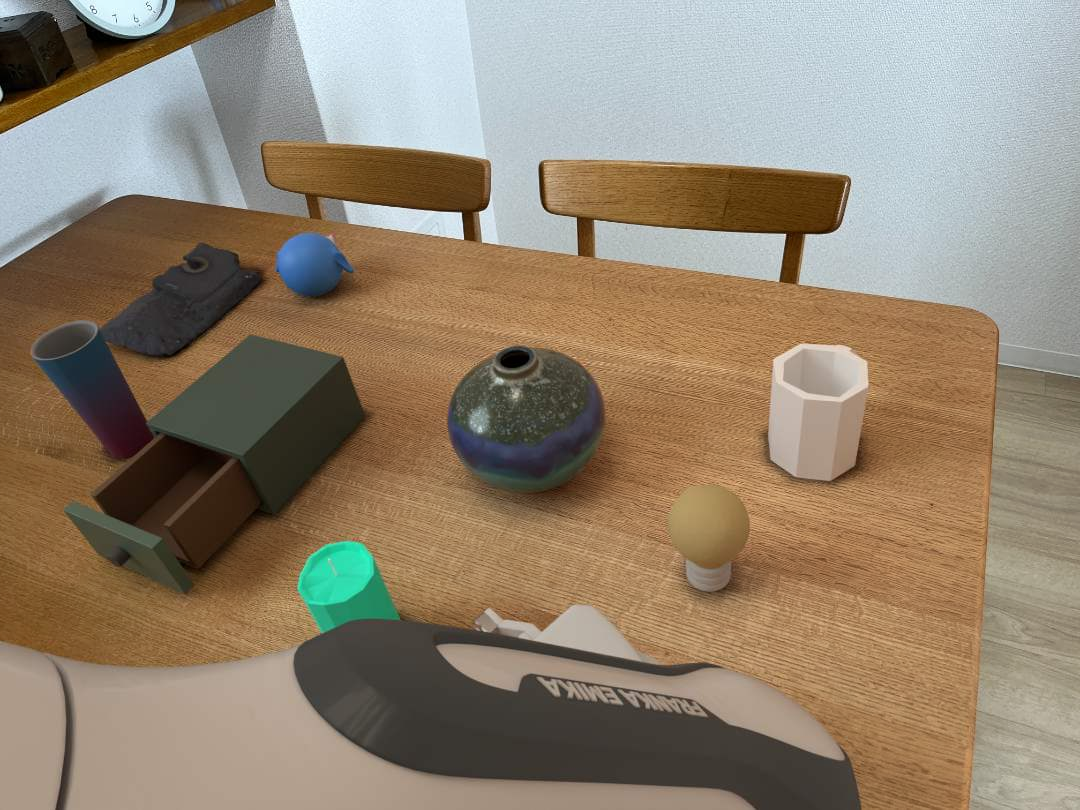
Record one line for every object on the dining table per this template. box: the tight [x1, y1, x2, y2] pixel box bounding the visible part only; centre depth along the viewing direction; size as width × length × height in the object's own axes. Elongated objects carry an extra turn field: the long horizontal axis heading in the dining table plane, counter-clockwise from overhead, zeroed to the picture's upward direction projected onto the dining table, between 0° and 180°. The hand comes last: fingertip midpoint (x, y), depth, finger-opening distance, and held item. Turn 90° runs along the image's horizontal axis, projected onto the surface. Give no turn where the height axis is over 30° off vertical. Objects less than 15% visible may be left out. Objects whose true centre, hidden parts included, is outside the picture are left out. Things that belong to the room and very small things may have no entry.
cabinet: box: [146, 333, 366, 516], centre depth 86 cm, size 16×14×9 cm
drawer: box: [62, 433, 263, 595], centre depth 79 cm, size 16×12×7 cm
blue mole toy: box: [274, 232, 355, 298], centre depth 112 cm, size 12×12×8 cm
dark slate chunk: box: [99, 242, 262, 357], centre depth 113 cm, size 15×22×5 cm
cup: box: [29, 319, 154, 459], centre depth 89 cm, size 7×7×15 cm
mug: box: [767, 343, 869, 482], centre depth 76 cm, size 12×9×10 cm
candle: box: [296, 540, 402, 634], centre depth 64 cm, size 6×6×12 cm
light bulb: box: [667, 484, 751, 593], centre depth 66 cm, size 6×6×10 cm
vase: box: [446, 344, 607, 494], centre depth 78 cm, size 15×15×13 cm
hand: (427, 664), depth 53 cm, fingers open, 8 cm apart
